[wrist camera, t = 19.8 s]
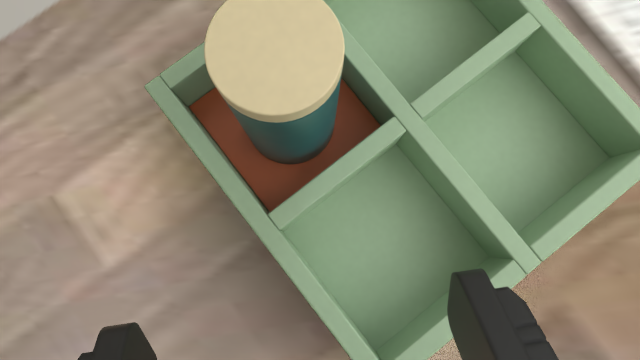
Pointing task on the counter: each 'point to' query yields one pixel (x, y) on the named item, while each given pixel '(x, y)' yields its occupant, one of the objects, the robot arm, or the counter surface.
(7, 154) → the counter surface
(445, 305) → the grid
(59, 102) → the counter surface
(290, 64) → the teal cream-capped cylinder
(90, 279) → the counter surface
